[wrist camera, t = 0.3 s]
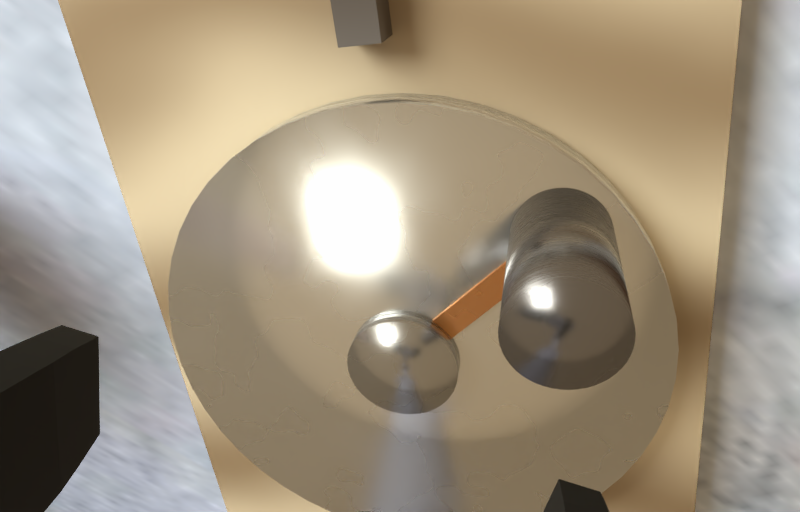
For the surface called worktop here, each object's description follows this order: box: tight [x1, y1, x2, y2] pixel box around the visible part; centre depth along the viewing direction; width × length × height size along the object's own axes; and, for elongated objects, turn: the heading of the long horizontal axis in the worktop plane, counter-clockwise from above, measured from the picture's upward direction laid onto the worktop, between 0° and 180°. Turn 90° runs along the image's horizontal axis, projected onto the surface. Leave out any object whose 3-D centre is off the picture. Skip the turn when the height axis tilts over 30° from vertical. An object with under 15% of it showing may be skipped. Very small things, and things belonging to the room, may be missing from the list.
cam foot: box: [168, 93, 679, 512], centre depth 17 cm, size 14×14×5 cm
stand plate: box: [58, 0, 742, 512], centre depth 19 cm, size 24×16×3 cm, turn 7°
